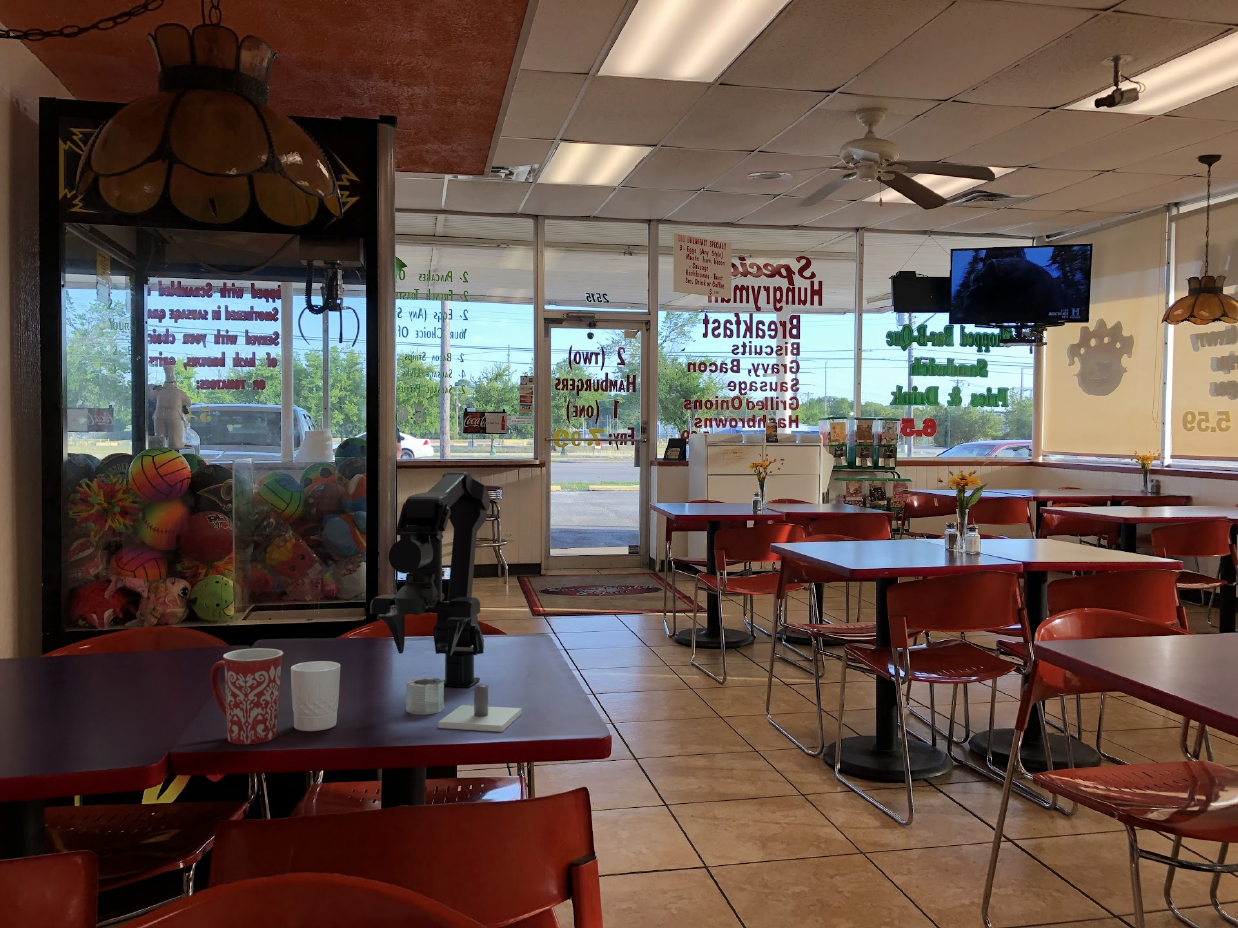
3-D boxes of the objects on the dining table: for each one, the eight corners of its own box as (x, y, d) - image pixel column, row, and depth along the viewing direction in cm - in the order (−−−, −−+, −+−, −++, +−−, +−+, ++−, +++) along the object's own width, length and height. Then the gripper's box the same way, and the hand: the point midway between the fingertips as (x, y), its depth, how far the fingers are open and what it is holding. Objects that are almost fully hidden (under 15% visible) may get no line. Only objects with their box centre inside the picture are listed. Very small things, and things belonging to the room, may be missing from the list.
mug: (295, 733, 153) (295, 650, 153) (253, 749, 144) (253, 661, 144) (235, 724, 158) (236, 644, 158) (192, 739, 149) (192, 654, 149)
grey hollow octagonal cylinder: (415, 704, 171) (415, 677, 171) (447, 706, 170) (447, 678, 170) (402, 713, 165) (402, 684, 165) (434, 715, 164) (434, 686, 164)
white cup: (322, 716, 163) (322, 658, 163) (349, 725, 158) (349, 665, 158) (281, 726, 157) (281, 666, 157) (307, 735, 152) (308, 673, 152)
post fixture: (461, 710, 167) (461, 676, 167) (521, 713, 165) (521, 679, 165) (438, 727, 156) (438, 691, 156) (502, 731, 154) (502, 695, 154)
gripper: (355, 570, 161) (355, 661, 161) (459, 573, 158) (459, 666, 158) (383, 563, 172) (383, 648, 172) (481, 565, 169) (481, 653, 169)
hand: (425, 654), depth 168 cm, fingers open, 9 cm apart
